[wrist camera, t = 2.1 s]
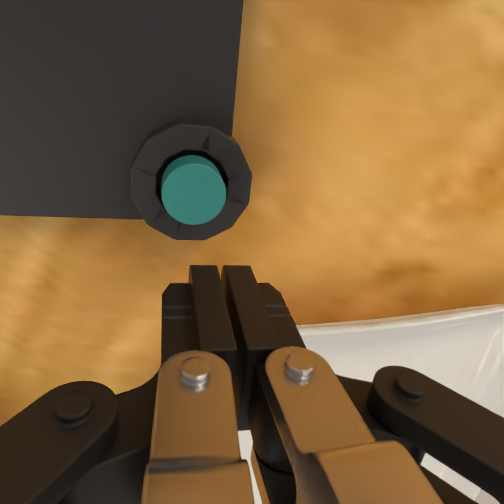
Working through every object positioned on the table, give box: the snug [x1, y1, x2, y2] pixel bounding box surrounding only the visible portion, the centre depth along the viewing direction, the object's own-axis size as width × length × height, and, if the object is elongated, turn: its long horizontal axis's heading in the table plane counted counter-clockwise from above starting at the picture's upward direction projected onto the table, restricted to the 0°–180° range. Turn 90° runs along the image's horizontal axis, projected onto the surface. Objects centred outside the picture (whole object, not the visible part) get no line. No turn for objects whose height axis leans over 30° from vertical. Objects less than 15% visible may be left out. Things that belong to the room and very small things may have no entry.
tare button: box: [161, 155, 226, 225], centre depth 20 cm, size 3×3×2 cm
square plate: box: [238, 304, 504, 504], centre depth 33 cm, size 27×27×4 cm
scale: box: [0, 0, 252, 240], centre depth 19 cm, size 14×13×3 cm
